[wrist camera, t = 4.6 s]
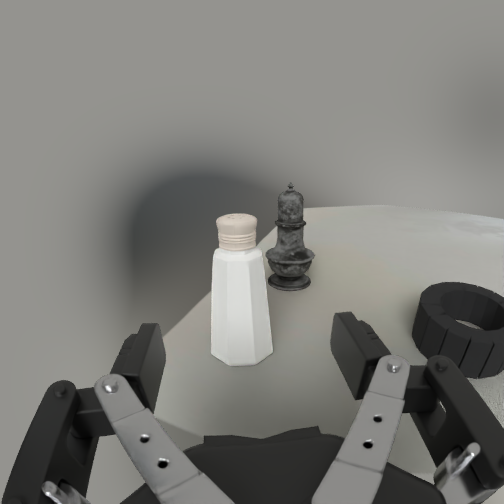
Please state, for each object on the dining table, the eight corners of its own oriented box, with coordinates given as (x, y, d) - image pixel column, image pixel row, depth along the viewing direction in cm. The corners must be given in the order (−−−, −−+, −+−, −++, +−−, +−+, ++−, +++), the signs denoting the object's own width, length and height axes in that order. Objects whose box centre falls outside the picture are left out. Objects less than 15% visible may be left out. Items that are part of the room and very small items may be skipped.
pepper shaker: (226, 324, 27) (219, 208, 23) (282, 335, 25) (284, 211, 22) (198, 358, 22) (181, 223, 19) (262, 374, 20) (261, 229, 17)
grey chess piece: (276, 269, 40) (276, 179, 36) (318, 275, 37) (322, 181, 33) (257, 286, 35) (255, 184, 31) (305, 295, 32) (309, 186, 28)
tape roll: (497, 396, 14) (516, 361, 13) (391, 343, 23) (400, 309, 22) (517, 333, 20) (528, 304, 19) (437, 300, 29) (443, 273, 28)
